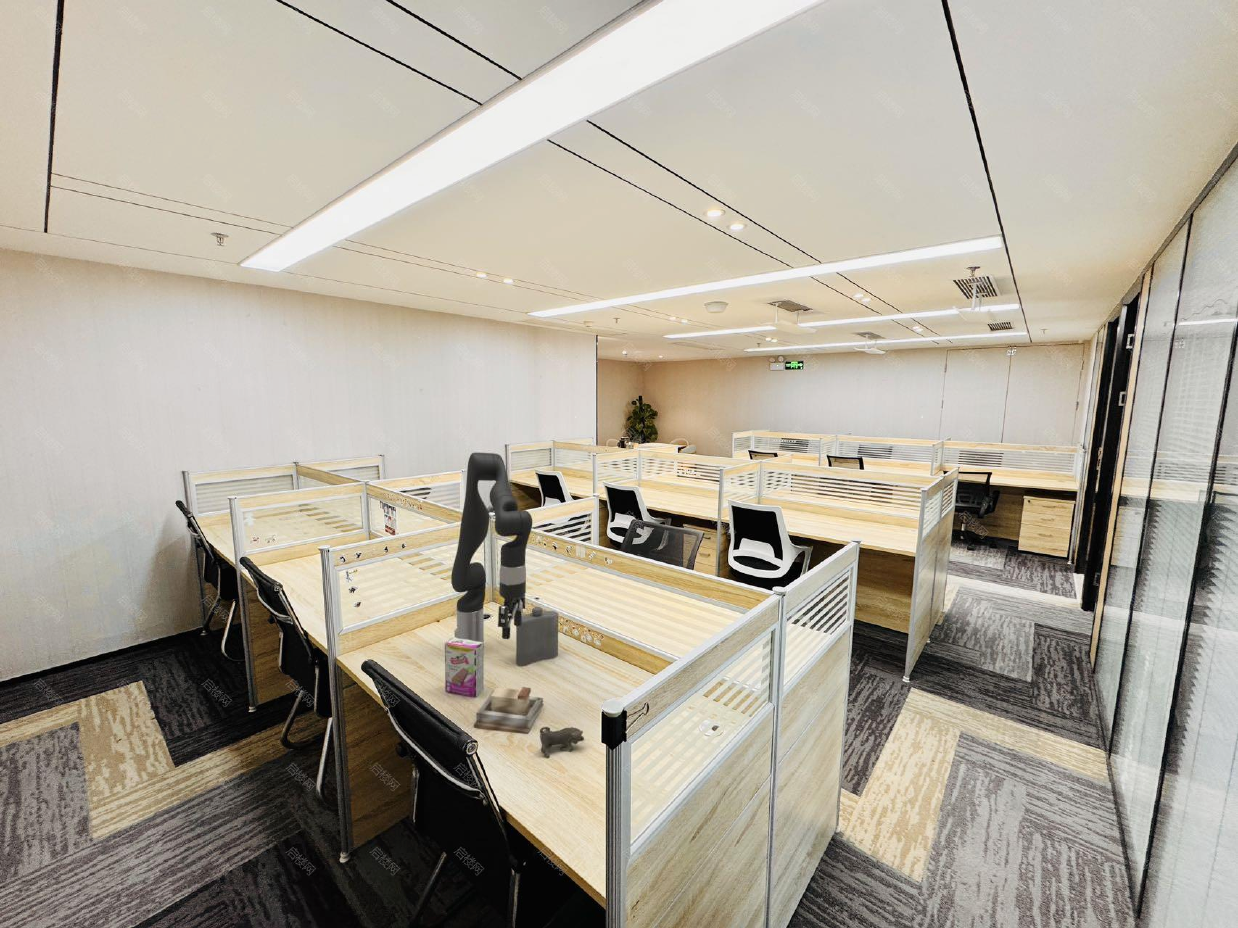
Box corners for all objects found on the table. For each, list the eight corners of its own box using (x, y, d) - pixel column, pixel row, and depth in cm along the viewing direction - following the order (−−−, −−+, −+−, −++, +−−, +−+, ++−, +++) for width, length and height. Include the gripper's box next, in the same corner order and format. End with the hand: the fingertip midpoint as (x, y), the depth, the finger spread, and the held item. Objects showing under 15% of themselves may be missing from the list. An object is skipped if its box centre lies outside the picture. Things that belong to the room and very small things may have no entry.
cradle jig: (474, 727, 143) (473, 715, 142) (494, 699, 156) (494, 688, 156) (528, 735, 140) (528, 723, 139) (544, 705, 154) (544, 695, 153)
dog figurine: (540, 761, 130) (540, 734, 129) (539, 746, 136) (539, 720, 135) (586, 755, 133) (587, 729, 132) (583, 741, 138) (584, 715, 137)
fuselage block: (491, 715, 147) (491, 692, 146) (497, 706, 151) (497, 683, 150) (525, 719, 145) (525, 696, 144) (530, 710, 149) (530, 687, 149)
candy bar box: (444, 692, 159) (443, 642, 157) (453, 684, 164) (453, 636, 162) (476, 698, 156) (475, 648, 154) (484, 690, 161) (484, 641, 159)
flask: (554, 654, 185) (554, 602, 183) (559, 662, 180) (560, 608, 177) (513, 663, 178) (514, 608, 176) (518, 671, 173) (518, 615, 171)
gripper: (510, 569, 154) (509, 620, 156) (489, 586, 140) (489, 641, 142) (533, 572, 153) (532, 623, 155) (515, 589, 139) (514, 644, 141)
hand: (512, 631), depth 149 cm, fingers open, 8 cm apart
